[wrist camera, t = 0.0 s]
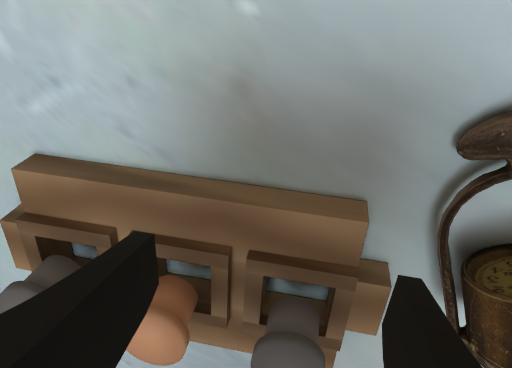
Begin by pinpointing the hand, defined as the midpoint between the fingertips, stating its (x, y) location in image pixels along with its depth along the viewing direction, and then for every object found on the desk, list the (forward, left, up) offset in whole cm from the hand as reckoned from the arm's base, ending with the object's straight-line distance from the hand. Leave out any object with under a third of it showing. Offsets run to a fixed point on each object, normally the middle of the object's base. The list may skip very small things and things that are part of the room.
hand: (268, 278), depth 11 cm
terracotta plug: (-9, +6, -7) cm, 13 cm away
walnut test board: (-9, +6, -10) cm, 15 cm away
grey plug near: (-9, -1, -7) cm, 11 cm away
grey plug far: (-9, +13, -7) cm, 17 cm away
